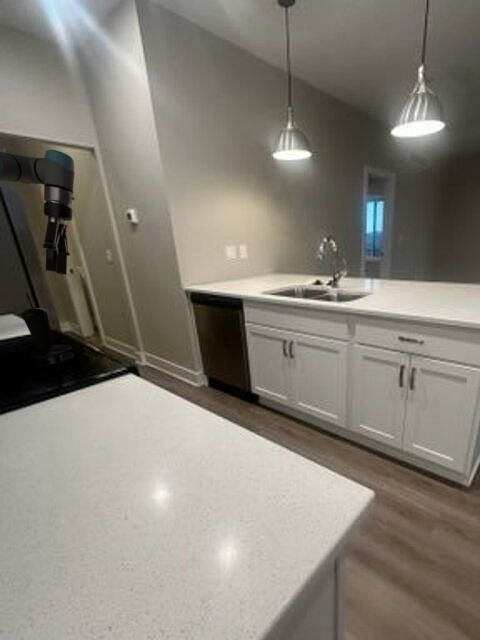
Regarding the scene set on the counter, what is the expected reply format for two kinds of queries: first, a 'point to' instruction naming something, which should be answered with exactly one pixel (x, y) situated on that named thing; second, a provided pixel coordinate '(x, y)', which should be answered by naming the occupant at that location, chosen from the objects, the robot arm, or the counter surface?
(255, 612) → the counter surface
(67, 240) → the robot arm
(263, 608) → the counter surface
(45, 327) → the drinking cup
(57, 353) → the stand
